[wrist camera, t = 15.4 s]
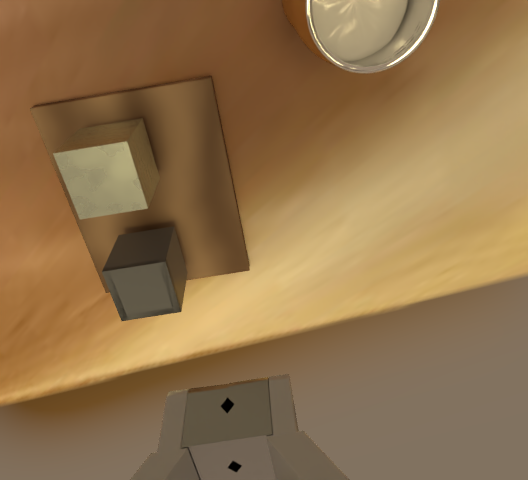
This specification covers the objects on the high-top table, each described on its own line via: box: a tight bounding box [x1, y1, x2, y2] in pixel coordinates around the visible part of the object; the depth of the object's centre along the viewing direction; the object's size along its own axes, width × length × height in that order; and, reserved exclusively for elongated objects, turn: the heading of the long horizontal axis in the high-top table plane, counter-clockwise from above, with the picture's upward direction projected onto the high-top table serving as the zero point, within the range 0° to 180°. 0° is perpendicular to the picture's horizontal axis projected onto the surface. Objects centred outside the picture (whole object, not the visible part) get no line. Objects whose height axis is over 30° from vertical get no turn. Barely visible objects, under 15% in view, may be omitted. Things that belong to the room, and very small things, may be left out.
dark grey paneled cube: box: [102, 226, 188, 321], centre depth 39 cm, size 5×5×6 cm
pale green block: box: [53, 118, 160, 219], centre depth 35 cm, size 5×5×8 cm
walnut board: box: [30, 76, 250, 293], centre depth 41 cm, size 15×19×1 cm
